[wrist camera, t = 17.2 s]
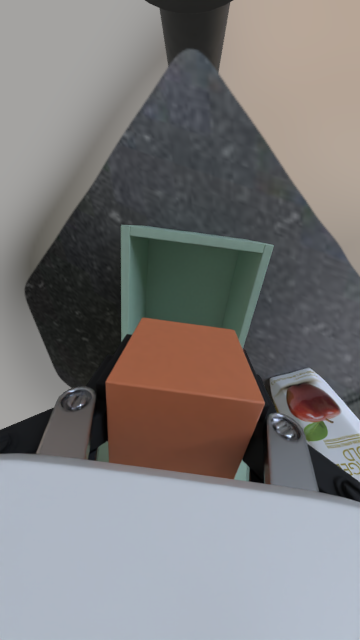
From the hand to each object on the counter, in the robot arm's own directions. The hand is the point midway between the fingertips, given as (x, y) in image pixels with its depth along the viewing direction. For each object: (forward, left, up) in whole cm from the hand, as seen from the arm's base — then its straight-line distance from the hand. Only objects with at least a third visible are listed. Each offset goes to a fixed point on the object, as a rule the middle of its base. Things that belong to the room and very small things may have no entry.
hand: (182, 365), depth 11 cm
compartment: (+1, 0, -20) cm, 20 cm away
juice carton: (+16, +21, -20) cm, 33 cm away
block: (0, 0, 0) cm, 0 cm away
